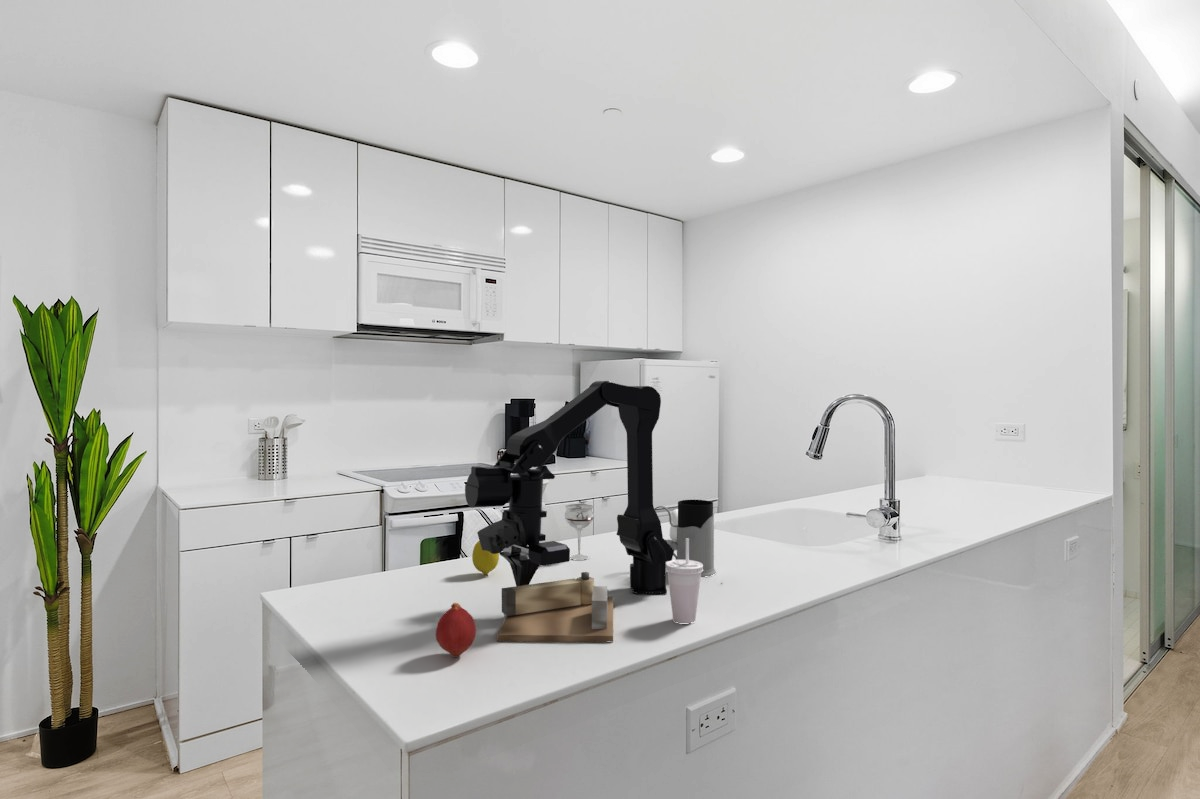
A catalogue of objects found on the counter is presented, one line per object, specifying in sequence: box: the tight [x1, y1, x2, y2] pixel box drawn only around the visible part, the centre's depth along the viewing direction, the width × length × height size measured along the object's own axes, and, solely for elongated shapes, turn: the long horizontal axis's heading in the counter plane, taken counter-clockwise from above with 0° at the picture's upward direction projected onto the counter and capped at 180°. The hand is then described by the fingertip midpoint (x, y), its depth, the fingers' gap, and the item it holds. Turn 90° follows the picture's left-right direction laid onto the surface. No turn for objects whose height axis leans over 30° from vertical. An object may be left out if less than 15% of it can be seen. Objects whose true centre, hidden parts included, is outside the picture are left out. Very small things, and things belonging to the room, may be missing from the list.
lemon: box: [471, 540, 500, 576], centre depth 144 cm, size 6×6×8 cm
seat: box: [496, 571, 614, 643], centre depth 116 cm, size 18×20×6 cm
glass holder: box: [654, 499, 717, 578], centre depth 147 cm, size 9×14×15 cm, turn 68°
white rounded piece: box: [669, 508, 716, 543], centre depth 173 cm, size 11×12×9 cm
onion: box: [435, 602, 477, 658], centre depth 100 cm, size 6×6×8 cm
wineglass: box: [564, 503, 595, 561], centre depth 159 cm, size 7×7×12 cm
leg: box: [501, 576, 595, 617], centre depth 119 cm, size 17×3×4 cm, turn 116°
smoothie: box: [665, 538, 703, 623], centre depth 115 cm, size 6×6×14 cm
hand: (521, 594), depth 119 cm, fingers closed
